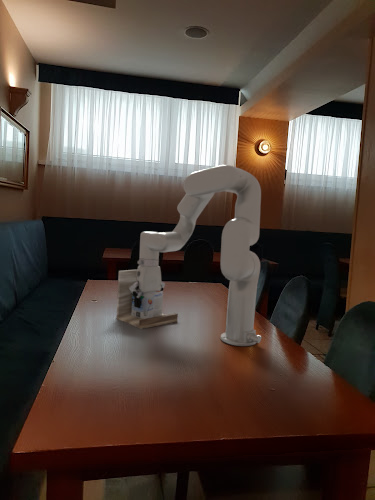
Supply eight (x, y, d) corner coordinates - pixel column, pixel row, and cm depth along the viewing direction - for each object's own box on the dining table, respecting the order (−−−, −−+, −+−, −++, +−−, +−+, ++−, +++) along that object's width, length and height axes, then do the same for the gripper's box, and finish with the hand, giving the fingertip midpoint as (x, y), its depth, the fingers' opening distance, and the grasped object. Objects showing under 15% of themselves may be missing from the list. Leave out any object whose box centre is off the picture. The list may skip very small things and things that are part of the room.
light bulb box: (130, 316, 152) (132, 289, 151) (140, 312, 158) (142, 287, 157) (152, 321, 147) (154, 293, 146) (162, 317, 153) (164, 291, 152)
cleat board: (177, 321, 153) (180, 274, 151) (141, 328, 140) (144, 277, 139) (151, 312, 164) (154, 268, 162) (116, 318, 152) (118, 270, 150)
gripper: (137, 265, 142) (135, 310, 144) (171, 263, 154) (169, 304, 156) (125, 262, 147) (123, 306, 149) (159, 260, 160) (157, 301, 161)
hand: (147, 305), depth 152 cm, fingers open, 9 cm apart
